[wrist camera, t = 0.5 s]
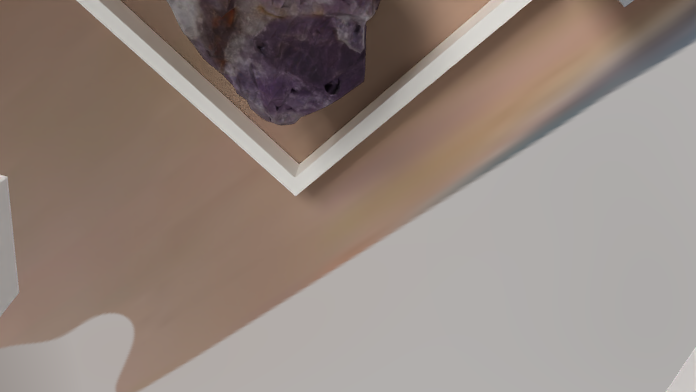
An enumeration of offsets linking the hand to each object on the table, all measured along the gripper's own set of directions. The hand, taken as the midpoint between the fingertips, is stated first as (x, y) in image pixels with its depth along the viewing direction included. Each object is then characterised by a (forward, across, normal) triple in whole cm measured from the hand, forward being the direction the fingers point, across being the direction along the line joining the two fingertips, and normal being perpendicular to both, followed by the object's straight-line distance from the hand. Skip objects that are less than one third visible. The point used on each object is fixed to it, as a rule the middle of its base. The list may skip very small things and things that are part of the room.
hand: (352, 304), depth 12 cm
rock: (+22, -5, +2) cm, 22 cm away
